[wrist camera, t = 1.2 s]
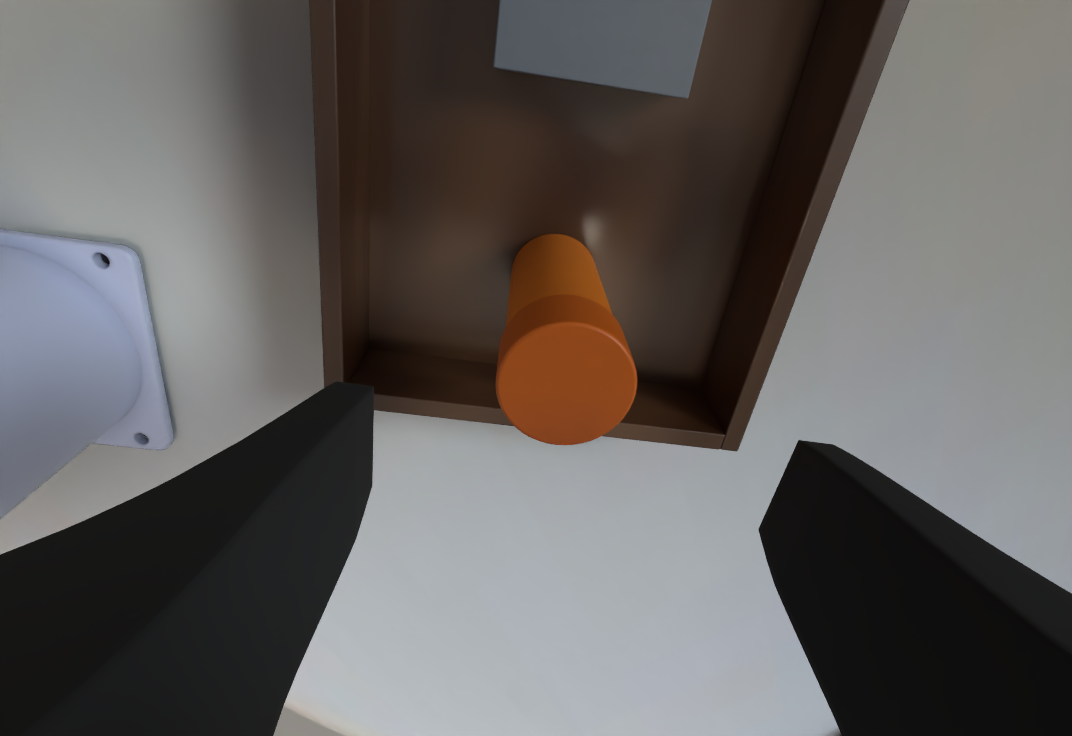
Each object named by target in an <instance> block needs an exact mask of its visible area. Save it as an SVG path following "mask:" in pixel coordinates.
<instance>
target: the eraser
mask: <svg viewBox="0 0 1072 736" xmlns="http://www.w3.org/2000/svg"><path fill="white" fill-rule="evenodd" d="M711 3H712V0H499V7H498V17H497V28H496V39H495V49H494V60H493V67H494V68H496V69H500V70H507V71H513V72H519V73H525V74H531V75H538V76H544V77H550V78H556V79H562V80H569V81H575V82H581V83H587V84H593V85H599V86H606V87H612V88H618V89H624V90H630V91H637V92H643V93H649V94H655V95H661V96H668V97H674V98H682V99H688V97H689V93H690V89H691V85H692V81H693V77H694V73H695V68H696V64H697V60H698V56H699V52H700V48H701V44H702V40H703V36H704V31H705V27H706V23H707V19H708V15H709V11H710V7H711Z"/></svg>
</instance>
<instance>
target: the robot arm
mask: <svg viewBox="0 0 1072 736" xmlns="http://www.w3.org/2000/svg"><path fill="white" fill-rule="evenodd" d="M101 253H102V254H104V255H105V256H106V257H108V259H109V261H110V265H109V264H107V263H105V262H104V261H103V260H102V258H101ZM373 414H374V386H368V385H361V384H353V383H345V382H337V381H336V382H334V383H332V384H331V385H329V386H327V387H325V388H324V389H322V390H321V391H319V392H317V393H316V394H314V395H313V396H311V397H310V398H308V399H306V400H305V401H303V402H302V403H300V404H299V405H297V406H296V407H294V408H292V409H291V410H289V411H288V412H286V413H285V414H283V415H281V416H280V417H278V418H277V419H275V420H273V421H272V422H270V423H269V424H267V425H265V426H264V427H262V428H260V429H259V430H257V431H256V432H254V433H252V434H251V435H249V436H248V437H246V438H244V439H243V440H241V441H239V442H238V443H236V444H234V445H232V446H230V447H229V448H227V449H225V450H223V451H221V452H220V453H218V454H216V455H214V456H212V457H211V458H209V459H207V460H205V461H203V462H202V463H200V464H198V465H196V466H194V467H193V468H191V469H189V470H187V471H185V472H184V473H182V474H180V475H178V476H176V477H175V478H173V479H171V480H169V481H167V482H165V483H163V484H161V485H159V486H157V487H155V488H153V489H151V490H149V491H147V492H145V493H143V494H141V495H139V496H137V497H135V498H133V499H131V500H128V501H126V502H124V503H122V504H120V505H117V506H115V507H113V508H111V509H109V510H107V511H104V512H102V513H100V514H98V515H96V516H93V517H91V518H89V519H87V520H85V521H82V522H80V523H78V524H75V525H73V526H71V527H69V528H66V529H64V530H61V531H59V532H56V533H54V534H51V535H49V536H46V537H44V538H41V539H39V540H36V541H34V542H31V543H29V544H26V545H24V546H21V547H18V548H16V549H13V550H11V551H8V552H6V553H3V554H1V555H0V736H273V735H274V732H275V729H276V726H277V722H278V720H279V717H280V714H281V711H282V708H283V705H284V703H285V700H286V698H287V695H288V693H289V690H290V688H291V685H292V683H293V680H294V678H295V675H296V673H297V670H298V668H299V666H300V664H301V661H302V659H303V657H304V655H305V652H306V650H307V648H308V646H309V644H310V641H311V639H312V637H313V635H314V632H315V630H316V628H317V626H318V623H319V621H320V619H321V617H322V615H323V612H324V610H325V608H326V606H327V603H328V601H329V599H330V597H331V595H332V592H333V590H334V588H335V586H336V583H337V581H338V579H339V577H340V574H341V572H342V570H343V567H344V565H345V563H346V561H347V558H348V556H349V554H350V552H351V549H352V547H353V545H354V542H355V540H356V537H357V534H358V531H359V528H360V524H361V521H362V518H363V515H364V511H365V508H366V505H367V501H368V498H369V494H370V491H371V488H372V471H373ZM142 434H144V435H145V436H147V437H148V438H145V437H144V436H143V435H142ZM173 441H174V434H173V429H172V424H171V419H170V414H169V408H168V403H167V398H166V393H165V388H164V382H163V377H162V372H161V367H160V362H159V356H158V351H157V346H156V341H155V336H154V331H153V325H152V320H151V315H150V310H149V305H148V299H147V294H146V289H145V284H144V279H143V273H142V268H141V263H140V260H139V257H138V255H137V254H136V253H135V252H134V251H133V250H132V249H130V248H129V247H127V246H124V245H119V244H111V243H104V242H96V241H89V240H81V239H73V238H66V237H58V236H51V235H43V234H35V233H28V232H20V231H13V230H5V229H0V519H2V518H3V517H4V516H5V515H6V514H8V513H9V512H10V511H11V510H12V509H14V508H15V507H16V506H17V505H18V504H20V503H21V502H22V501H23V500H24V499H26V498H27V497H28V496H29V495H30V494H32V493H33V492H34V491H35V490H36V489H38V488H39V487H40V486H41V485H42V484H44V483H45V482H46V481H47V480H48V479H50V478H51V477H52V476H53V475H54V474H56V473H57V472H58V471H59V470H60V469H62V468H63V467H64V466H65V465H66V464H68V463H69V462H70V461H71V460H72V459H74V458H75V457H76V456H77V455H78V454H80V453H81V452H82V451H83V450H84V449H86V448H87V447H88V446H89V445H90V444H92V443H94V444H103V445H113V446H122V447H131V448H141V449H150V450H164V449H166V448H168V447H169V446H170V445H171V444H172V442H173ZM759 533H760V537H761V540H762V544H763V548H764V551H765V555H766V559H767V562H768V565H769V568H770V572H771V575H772V578H773V581H774V584H775V587H776V589H777V591H778V594H779V596H780V598H781V601H782V603H783V605H784V607H785V610H786V612H787V614H788V616H789V619H790V621H791V623H792V625H793V628H794V630H795V632H796V634H797V637H798V639H799V641H800V643H801V645H802V648H803V650H804V652H805V654H806V656H807V658H808V661H809V663H810V665H811V667H812V669H813V672H814V674H815V676H816V678H817V680H818V683H819V685H820V687H821V689H822V691H823V694H824V696H825V698H826V700H827V702H828V705H829V707H830V709H831V711H832V713H833V716H834V718H835V720H836V723H837V725H838V727H839V730H840V732H841V735H842V736H1072V593H1070V592H1068V591H1066V590H1065V589H1063V588H1061V587H1059V586H1058V585H1056V584H1054V583H1053V582H1051V581H1049V580H1048V579H1046V578H1045V577H1043V576H1041V575H1040V574H1038V573H1036V572H1035V571H1033V570H1031V569H1030V568H1028V567H1027V566H1025V565H1023V564H1022V563H1020V562H1018V561H1017V560H1015V559H1013V558H1012V557H1010V556H1009V555H1007V554H1005V553H1004V552H1002V551H1000V550H999V549H997V548H996V547H994V546H993V545H991V544H989V543H988V542H986V541H985V540H983V539H982V538H980V537H978V536H977V535H975V534H974V533H972V532H971V531H969V530H968V529H966V528H965V527H963V526H961V525H960V524H958V523H957V522H955V521H954V520H952V519H951V518H949V517H948V516H946V515H945V514H943V513H942V512H940V511H939V510H937V509H936V508H934V507H933V506H931V505H930V504H928V503H926V502H925V501H923V500H922V499H920V498H919V497H917V496H916V495H914V494H913V493H911V492H910V491H908V490H907V489H905V488H904V487H902V486H901V485H899V484H898V483H896V482H895V481H893V480H892V479H890V478H889V477H887V476H885V475H884V474H882V473H881V472H879V471H878V470H876V469H874V468H873V467H871V466H870V465H868V464H866V463H865V462H863V461H862V460H860V459H858V458H857V457H855V456H853V455H851V454H850V453H848V452H846V451H844V450H842V449H840V448H838V447H837V446H835V445H832V444H824V443H817V442H809V441H801V440H799V441H798V443H797V445H796V447H795V449H794V452H793V454H792V456H791V458H790V461H789V463H788V465H787V467H786V469H785V472H784V474H783V476H782V478H781V481H780V483H779V485H778V487H777V489H776V492H775V494H774V496H773V498H772V501H771V503H770V505H769V507H768V509H767V512H766V514H765V516H764V518H763V521H762V523H761V525H760V527H759Z"/></svg>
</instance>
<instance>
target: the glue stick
mask: <svg viewBox="0 0 1072 736" xmlns="http://www.w3.org/2000/svg"><path fill="white" fill-rule="evenodd" d="M495 386H496V395H497V399H498V402H499V405H500V407H501V409H502V411H503V413H504V414H505V416H506V417H507V418H508V420H509V421H510V422H511V423H512V424H513V425H514V426H515V427H516V428H517V429H518V430H520V431H521V432H522V433H524V434H526V435H527V436H529V437H531V438H533V439H536V440H538V441H541V442H545V443H549V444H555V445H574V444H580V443H584V442H588V441H591V440H594V439H596V438H599V437H600V436H602V435H604V434H606V433H607V432H609V431H610V430H612V429H613V428H614V427H615V426H616V425H618V424H619V423H620V421H621V420H622V419H623V418H624V417H625V415H626V414H627V412H628V411H629V409H630V407H631V405H632V403H633V401H634V398H635V395H636V390H637V371H636V367H635V363H634V360H633V358H632V355H631V352H630V349H629V347H628V344H627V341H626V338H625V336H624V333H623V331H622V328H621V326H620V324H619V323H618V321H617V320H616V318H615V317H614V316H613V314H612V312H611V309H610V306H609V303H608V300H607V297H606V294H605V291H604V288H603V286H602V283H601V280H600V277H599V274H598V271H597V268H596V265H595V262H594V260H593V257H592V255H591V254H590V252H589V251H588V249H587V248H586V247H585V246H584V245H583V244H582V243H580V242H579V241H578V240H576V239H574V238H572V237H569V236H567V235H562V234H547V235H542V236H539V237H537V238H535V239H533V240H531V241H529V242H528V243H527V244H526V245H524V246H523V247H522V249H521V250H520V251H519V252H518V254H517V255H516V257H515V259H514V262H513V265H512V270H511V279H510V289H509V299H508V309H507V319H506V328H505V330H504V332H503V335H502V338H501V341H500V346H499V355H498V363H497V372H496V385H495Z"/></svg>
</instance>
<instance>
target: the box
mask: <svg viewBox="0 0 1072 736" xmlns="http://www.w3.org/2000/svg"><path fill="white" fill-rule="evenodd" d="M908 2H909V0H712V3H711V7H710V11H709V15H708V19H707V23H706V27H705V31H704V36H703V40H702V44H701V48H700V52H699V56H698V60H697V64H696V68H695V73H694V77H693V81H692V85H691V89H690V93H689V97H688V99H682V98H674V97H668V96H661V95H655V94H649V93H643V92H637V91H630V90H624V89H618V88H612V87H606V86H599V85H593V84H587V83H581V82H575V81H569V80H562V79H556V78H550V77H544V76H538V75H531V74H525V73H519V72H513V71H507V70H500V69H496V68H494V67H493V60H494V49H495V39H496V28H497V17H498V7H499V0H309V11H310V36H311V62H312V87H313V113H314V138H315V163H316V189H317V214H318V240H319V265H320V291H321V316H322V342H323V367H324V388H325V387H327V386H329V385H331V384H332V383H334V382H336V381H337V382H345V383H353V384H361V385H368V386H374V410H378V411H387V412H396V413H404V414H413V415H422V416H431V417H439V418H448V419H457V420H466V421H474V422H483V423H492V424H501V425H509V426H514V425H513V424H512V423H511V422H510V421H509V420H508V418H507V417H506V416H505V414H504V413H503V411H502V409H501V407H500V405H499V402H498V399H497V395H496V386H495V385H496V372H497V363H498V355H499V346H500V341H501V338H502V335H503V332H504V330H505V328H506V319H507V309H508V299H509V289H510V279H511V270H512V265H513V262H514V259H515V257H516V255H517V254H518V252H519V251H520V250H521V249H522V247H523V246H524V245H526V244H527V243H528V242H529V241H531V240H533V239H535V238H537V237H539V236H542V235H547V234H562V235H567V236H569V237H572V238H574V239H576V240H578V241H579V242H580V243H582V244H583V245H584V246H585V247H586V248H587V249H588V251H589V252H590V254H591V255H592V257H593V260H594V262H595V265H596V268H597V271H598V274H599V277H600V280H601V283H602V286H603V288H604V291H605V294H606V297H607V300H608V303H609V306H610V309H611V312H612V314H613V316H614V317H615V318H616V320H617V321H618V323H619V324H620V326H621V328H622V331H623V333H624V336H625V338H626V341H627V344H628V347H629V349H630V352H631V355H632V358H633V360H634V363H635V367H636V371H637V390H636V395H635V398H634V401H633V403H632V405H631V407H630V409H629V411H628V412H627V414H626V415H625V417H624V418H623V419H622V420H621V421H620V423H619V424H618V425H616V426H615V427H614V428H613V429H612V430H610V431H609V432H607V433H606V434H604V435H602V436H606V437H614V438H623V439H632V440H641V441H649V442H658V443H667V444H676V445H684V446H693V447H702V448H711V449H722V450H730V451H738V449H739V446H740V443H741V441H742V438H743V436H744V433H745V430H746V428H747V425H748V422H749V420H750V417H751V415H752V412H753V409H754V407H755V404H756V401H757V399H758V396H759V393H760V391H761V388H762V386H763V383H764V380H765V378H766V375H767V372H768V370H769V367H770V365H771V362H772V359H773V357H774V354H775V351H776V349H777V346H778V344H779V341H780V338H781V336H782V333H783V330H784V328H785V325H786V323H787V320H788V317H789V315H790V312H791V309H792V307H793V304H794V302H795V299H796V296H797V294H798V291H799V288H800V286H801V283H802V281H803V278H804V275H805V273H806V270H807V267H808V265H809V262H810V260H811V257H812V254H813V252H814V249H815V246H816V244H817V241H818V239H819V236H820V233H821V231H822V228H823V225H824V223H825V220H826V218H827V215H828V212H829V210H830V207H831V204H832V202H833V199H834V197H835V194H836V191H837V189H838V186H839V183H840V181H841V178H842V176H843V173H844V170H845V168H846V165H847V162H848V160H849V157H850V155H851V152H852V149H853V147H854V144H855V141H856V139H857V136H858V134H859V131H860V128H861V126H862V123H863V120H864V118H865V115H866V113H867V110H868V107H869V105H870V102H871V99H872V97H873V94H874V92H875V89H876V86H877V84H878V81H879V78H880V76H881V73H882V71H883V68H884V65H885V63H886V60H887V57H888V55H889V52H890V50H891V47H892V44H893V42H894V39H895V36H896V34H897V31H898V29H899V26H900V23H901V21H902V18H903V15H904V13H905V10H906V8H907V5H908Z"/></svg>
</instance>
